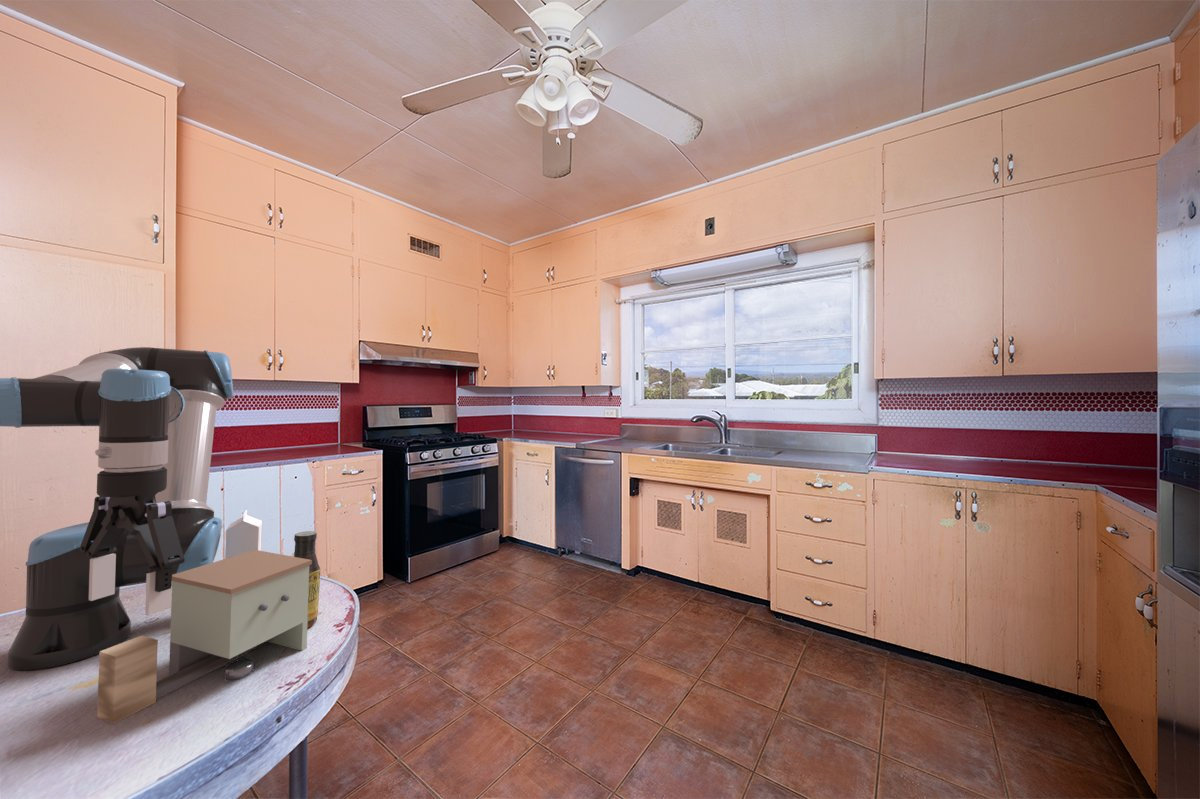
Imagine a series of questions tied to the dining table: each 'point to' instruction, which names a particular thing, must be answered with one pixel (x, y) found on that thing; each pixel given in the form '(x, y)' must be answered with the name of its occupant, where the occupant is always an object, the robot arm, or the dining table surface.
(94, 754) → the dining table surface
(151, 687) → the wooden toy block
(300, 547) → the sauce bottle
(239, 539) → the milk
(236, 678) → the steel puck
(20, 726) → the dining table surface
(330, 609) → the dining table surface
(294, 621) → the cabinet
